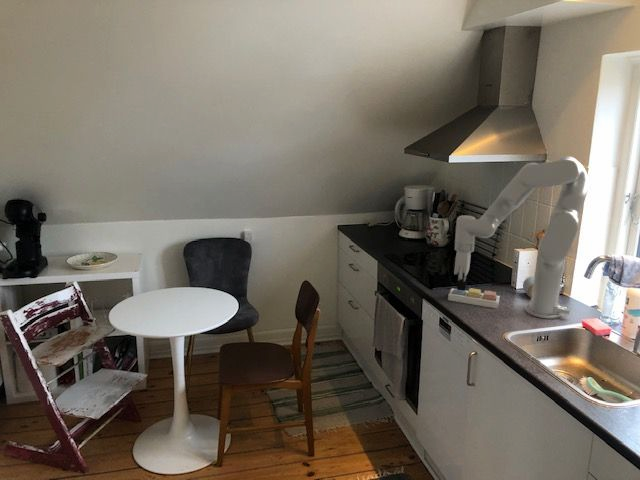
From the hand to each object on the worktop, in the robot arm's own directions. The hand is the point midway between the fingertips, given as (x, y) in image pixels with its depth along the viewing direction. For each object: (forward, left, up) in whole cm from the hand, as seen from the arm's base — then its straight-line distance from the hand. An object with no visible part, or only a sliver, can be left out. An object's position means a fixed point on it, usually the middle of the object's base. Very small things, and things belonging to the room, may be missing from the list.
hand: (461, 289), depth 208 cm
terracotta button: (-11, -2, -3) cm, 12 cm away
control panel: (-5, -1, -4) cm, 7 cm away
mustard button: (-5, -1, -3) cm, 6 cm away
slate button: (+1, 0, -4) cm, 4 cm away
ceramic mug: (-26, -22, -4) cm, 34 cm away
